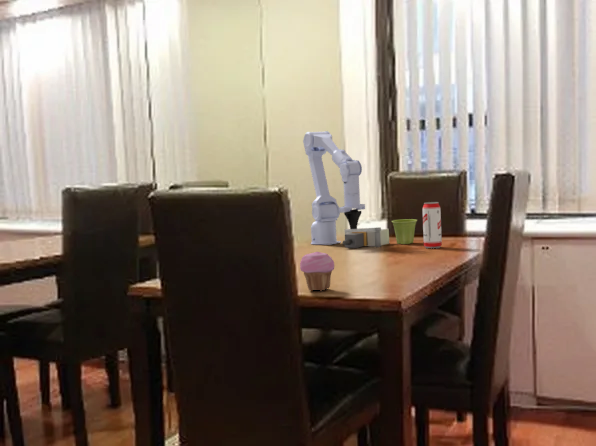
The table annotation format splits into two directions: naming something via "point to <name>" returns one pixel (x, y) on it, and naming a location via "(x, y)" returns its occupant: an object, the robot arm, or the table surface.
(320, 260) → the cupcake
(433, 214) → the beer can
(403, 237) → the plant pot
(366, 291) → the table surface
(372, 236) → the socket block
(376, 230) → the flat metal lever
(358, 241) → the plug
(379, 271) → the table surface
